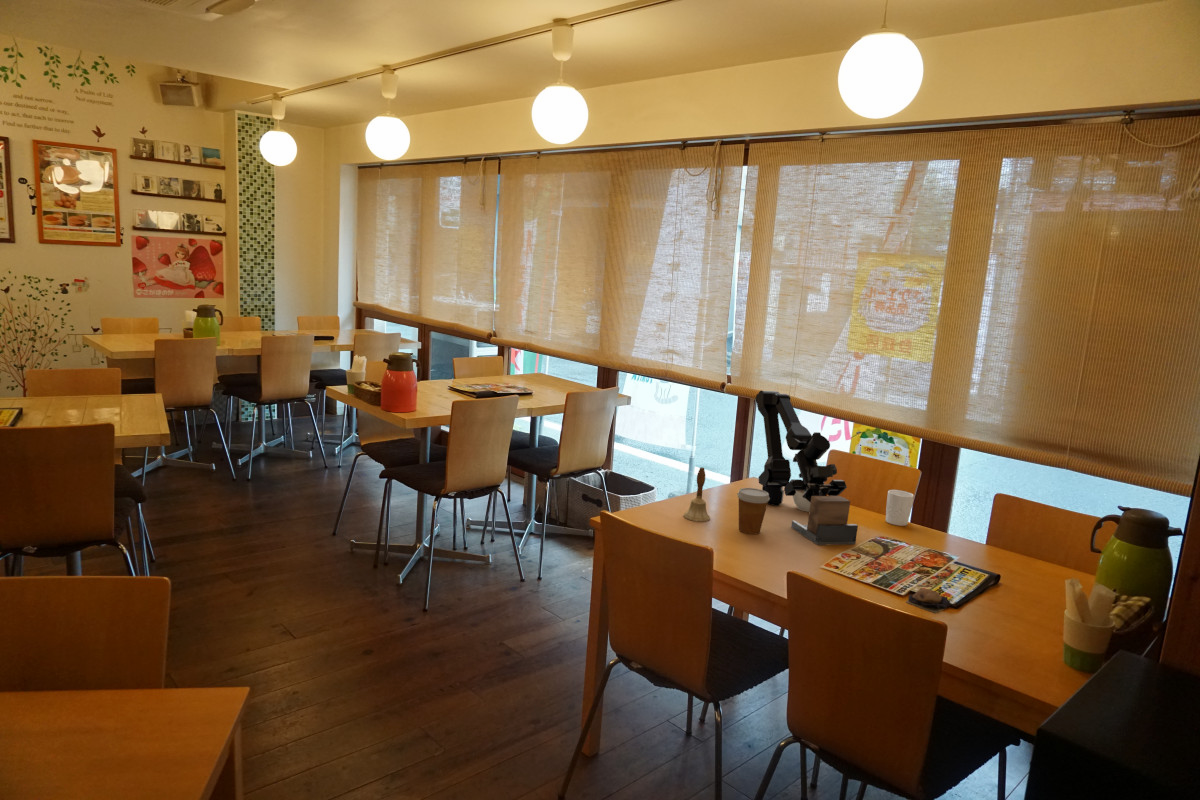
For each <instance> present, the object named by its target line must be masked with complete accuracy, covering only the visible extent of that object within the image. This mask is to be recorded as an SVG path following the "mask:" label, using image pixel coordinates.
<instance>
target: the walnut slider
mask: <svg viewBox="0 0 1200 800" xmlns="http://www.w3.org/2000/svg"><path fill="white" fill-rule="evenodd" d="M850 506H851V501H850V500H849V499H847V498H846V497H843V496H842V495H838V496H829V495H827V496H811V503H810V510H809V512H808V520H807V524H806V525H807V529H809V530H810V531H812V532H813V533H815V534H817V526H818V524H848V520H849V514H850Z"/></svg>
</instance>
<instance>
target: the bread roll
mask: <svg viewBox="0 0 1200 800" xmlns="http://www.w3.org/2000/svg"><path fill="white" fill-rule="evenodd" d="M905 603H906V604H908V605H910V606H913V607H916V608H919V609H921V610H924V611H927V612H930V613H932V614H938V613H940V612H942V611H944V610H946V609H947V608H948V607H950V606H951V601H950V600H949V599H948V597H947V596H942V595H940V593H938V592H936V591H935V590H932V589H930V588H921V589H919V590H917V591H916V592H915V593H914V594H909V595H908V598H907V600H906V602H905Z"/></svg>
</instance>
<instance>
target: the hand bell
mask: <svg viewBox="0 0 1200 800" xmlns="http://www.w3.org/2000/svg"><path fill="white" fill-rule="evenodd" d="M696 474H697V476H696V485H697V491H696V498H693V499H691V502H690V506H689V508H687V509H688V510H687V511H686V512H684V513H683V516H682V517H683V518H684V519H686V520H689V521H693V522H696V523H699V522H700V523H704V522H709V521H710V520H711V517H710V515H709V514H708V511H707V502H706V500H704V499H703V489H704V485H705V482H706V470H705V467H699V470H698V472H697V473H696Z"/></svg>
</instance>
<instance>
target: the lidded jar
mask: <svg viewBox="0 0 1200 800" xmlns="http://www.w3.org/2000/svg"><path fill="white" fill-rule="evenodd" d="M795 491H796V494H795V495H794V496H792V499H793V502H794V504H795V506H796V507H797V509H798V510H800V511H802V512H807V513H809V510H810V502H809V501H808V500H807V499H806V498H803V497H802V496H803V495H804V491H803V490H795Z"/></svg>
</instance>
